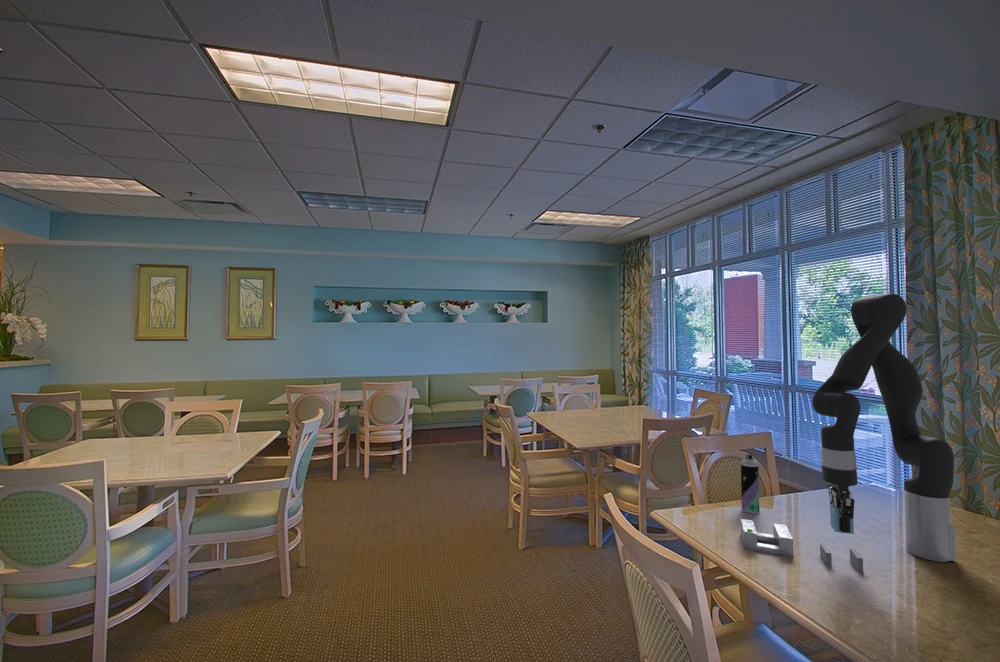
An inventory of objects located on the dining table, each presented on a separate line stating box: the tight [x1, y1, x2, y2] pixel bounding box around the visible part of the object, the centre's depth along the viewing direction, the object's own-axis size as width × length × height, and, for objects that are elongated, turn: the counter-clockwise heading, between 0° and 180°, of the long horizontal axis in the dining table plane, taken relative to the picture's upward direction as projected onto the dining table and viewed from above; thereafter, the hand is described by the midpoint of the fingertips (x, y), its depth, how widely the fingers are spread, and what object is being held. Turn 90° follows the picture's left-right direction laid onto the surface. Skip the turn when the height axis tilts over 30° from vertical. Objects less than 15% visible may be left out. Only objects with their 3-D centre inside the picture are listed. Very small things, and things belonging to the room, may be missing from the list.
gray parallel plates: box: [819, 542, 864, 573], centre depth 116 cm, size 8×6×4 cm
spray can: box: [740, 453, 760, 515], centre depth 153 cm, size 6×6×20 cm
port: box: [740, 518, 794, 558], centre depth 127 cm, size 12×10×6 cm
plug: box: [829, 503, 855, 535], centre depth 116 cm, size 4×4×7 cm
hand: (842, 528), depth 116 cm, fingers closed on plug, 4 cm apart
